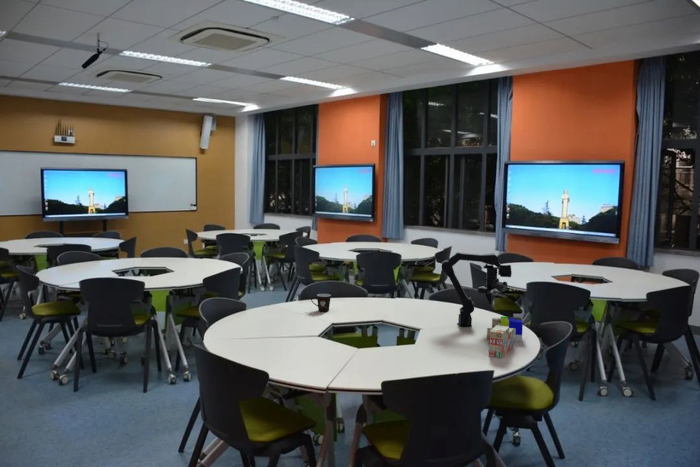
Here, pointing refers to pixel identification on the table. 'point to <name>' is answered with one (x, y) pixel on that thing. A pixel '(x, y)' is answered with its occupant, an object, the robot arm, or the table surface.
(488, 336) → the numbered block 2
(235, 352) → the table surface
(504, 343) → the stack of blocks
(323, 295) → the coffee mug
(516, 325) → the puzzle toy
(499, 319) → the numbered block 1
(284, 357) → the table surface
